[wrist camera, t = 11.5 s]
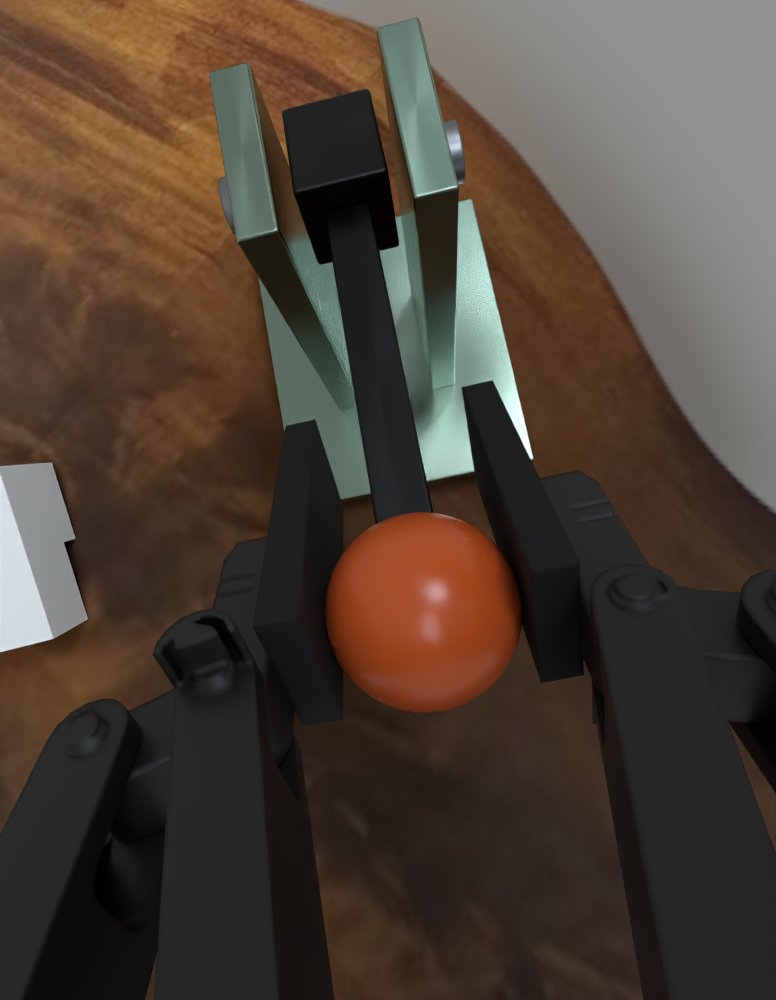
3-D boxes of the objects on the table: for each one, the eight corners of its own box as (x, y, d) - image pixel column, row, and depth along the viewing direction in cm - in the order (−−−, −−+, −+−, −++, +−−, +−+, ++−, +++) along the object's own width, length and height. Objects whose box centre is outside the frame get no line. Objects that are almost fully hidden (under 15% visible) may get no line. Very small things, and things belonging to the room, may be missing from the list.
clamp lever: (535, 697, 12) (557, 685, 9) (359, 729, 12) (315, 729, 9) (410, 183, 17) (394, 52, 14) (288, 212, 18) (244, 91, 14)
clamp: (531, 465, 26) (621, 324, 12) (303, 512, 26) (147, 429, 13) (471, 214, 28) (492, -149, 14) (261, 263, 28) (88, -36, 15)
